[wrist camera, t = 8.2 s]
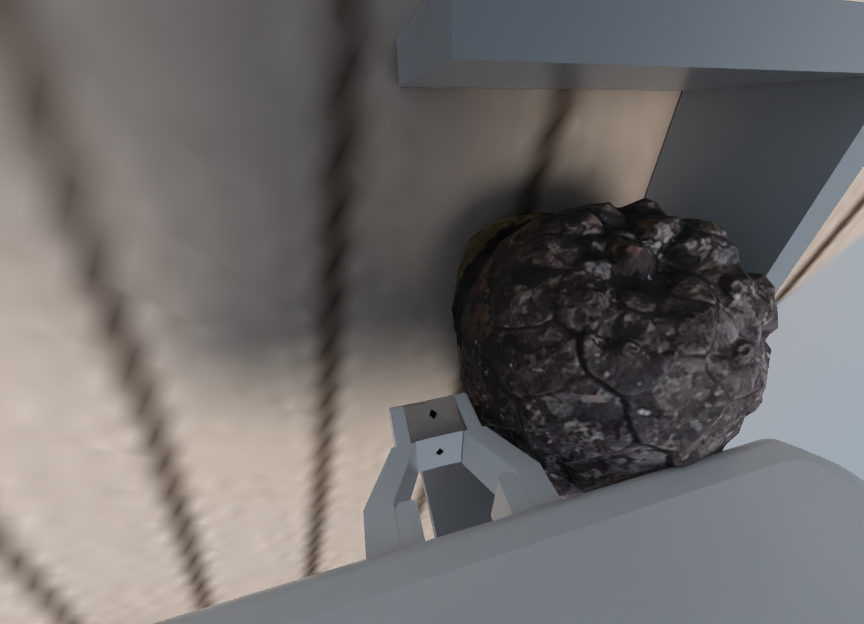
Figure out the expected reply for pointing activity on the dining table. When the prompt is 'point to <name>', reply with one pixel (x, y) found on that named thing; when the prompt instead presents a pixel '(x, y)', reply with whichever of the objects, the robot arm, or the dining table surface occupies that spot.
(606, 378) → the pine cone
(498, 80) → the box
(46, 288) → the dining table surface
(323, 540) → the dining table surface
